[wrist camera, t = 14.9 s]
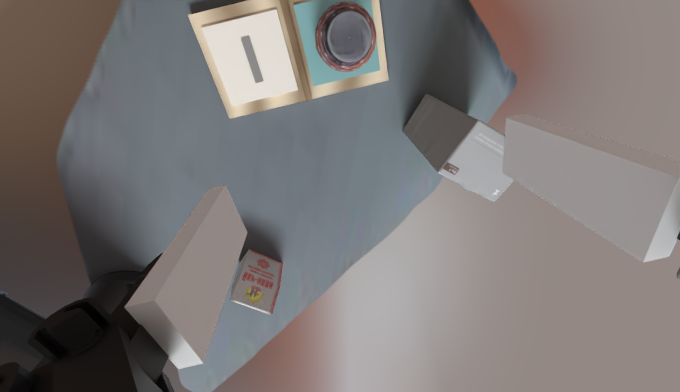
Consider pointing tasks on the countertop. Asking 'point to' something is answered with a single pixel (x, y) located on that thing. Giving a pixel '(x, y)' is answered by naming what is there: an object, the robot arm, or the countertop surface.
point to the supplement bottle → (345, 36)
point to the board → (260, 3)
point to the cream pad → (251, 57)
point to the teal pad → (307, 23)
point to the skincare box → (459, 147)
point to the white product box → (257, 282)
